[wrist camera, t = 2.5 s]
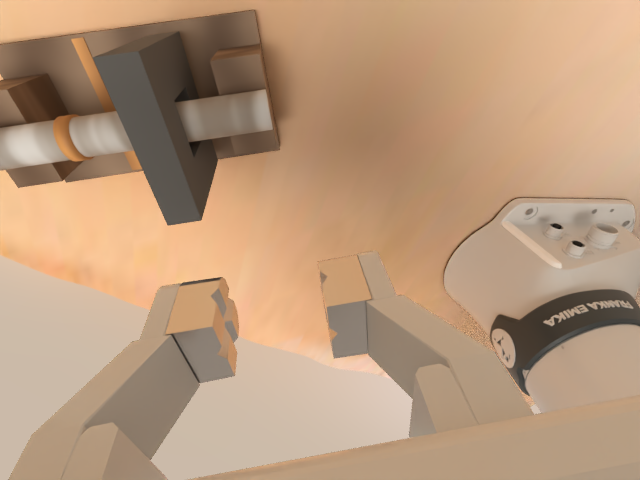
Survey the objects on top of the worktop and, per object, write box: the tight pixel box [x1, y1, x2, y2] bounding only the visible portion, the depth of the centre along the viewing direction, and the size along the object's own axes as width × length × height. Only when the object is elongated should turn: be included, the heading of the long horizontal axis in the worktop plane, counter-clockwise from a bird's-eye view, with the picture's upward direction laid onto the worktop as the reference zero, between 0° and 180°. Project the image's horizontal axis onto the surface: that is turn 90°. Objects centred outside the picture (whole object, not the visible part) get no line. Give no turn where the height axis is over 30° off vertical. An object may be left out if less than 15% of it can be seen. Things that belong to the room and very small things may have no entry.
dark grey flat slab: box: [92, 31, 218, 225], centre depth 22 cm, size 2×9×9 cm, turn 6°
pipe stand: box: [0, 10, 280, 188], centre depth 24 cm, size 18×10×8 cm, turn 96°
